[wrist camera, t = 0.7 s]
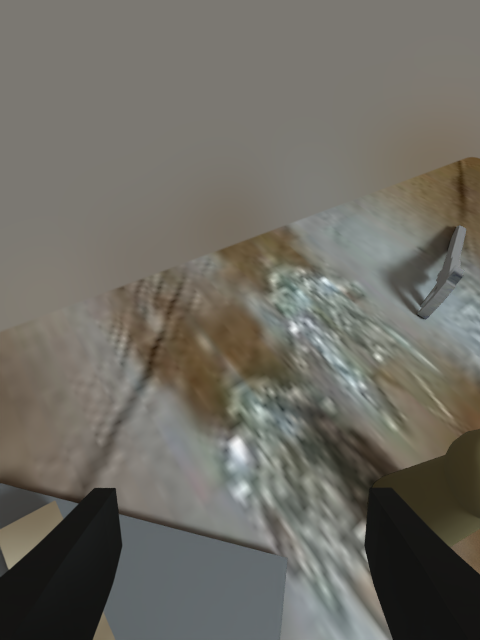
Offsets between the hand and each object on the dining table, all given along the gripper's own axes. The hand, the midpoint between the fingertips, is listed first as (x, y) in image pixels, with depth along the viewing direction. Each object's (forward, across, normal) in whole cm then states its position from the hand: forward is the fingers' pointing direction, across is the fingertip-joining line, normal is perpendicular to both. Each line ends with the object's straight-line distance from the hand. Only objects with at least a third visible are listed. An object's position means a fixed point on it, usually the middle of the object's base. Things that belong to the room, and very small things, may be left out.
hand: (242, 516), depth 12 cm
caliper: (+42, -23, +2) cm, 48 cm away
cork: (+16, -12, +15) cm, 25 cm away
